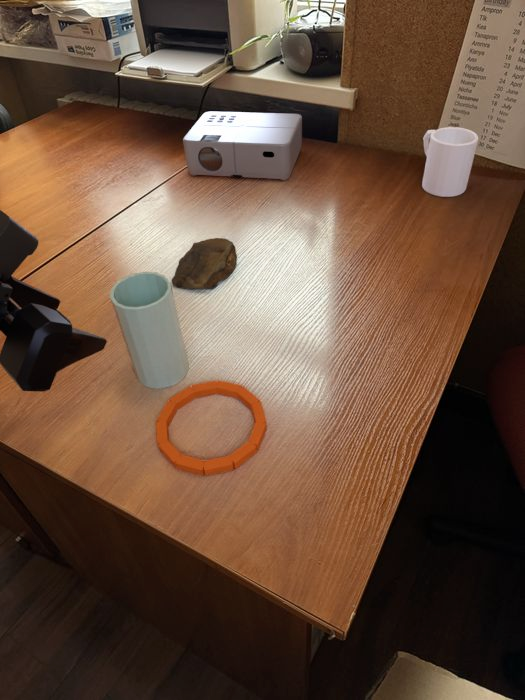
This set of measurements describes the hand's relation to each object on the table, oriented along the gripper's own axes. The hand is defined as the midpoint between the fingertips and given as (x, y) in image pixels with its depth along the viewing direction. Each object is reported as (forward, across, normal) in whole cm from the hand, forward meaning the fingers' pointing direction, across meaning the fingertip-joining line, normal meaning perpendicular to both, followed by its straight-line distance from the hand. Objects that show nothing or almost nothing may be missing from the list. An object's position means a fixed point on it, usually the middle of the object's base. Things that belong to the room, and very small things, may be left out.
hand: (80, 323), depth 51 cm
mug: (+65, +2, -40) cm, 77 cm away
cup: (+15, +1, +5) cm, 16 cm away
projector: (+52, +38, -28) cm, 71 cm away
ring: (+14, -11, +6) cm, 19 cm away
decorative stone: (+28, +14, -7) cm, 32 cm away
